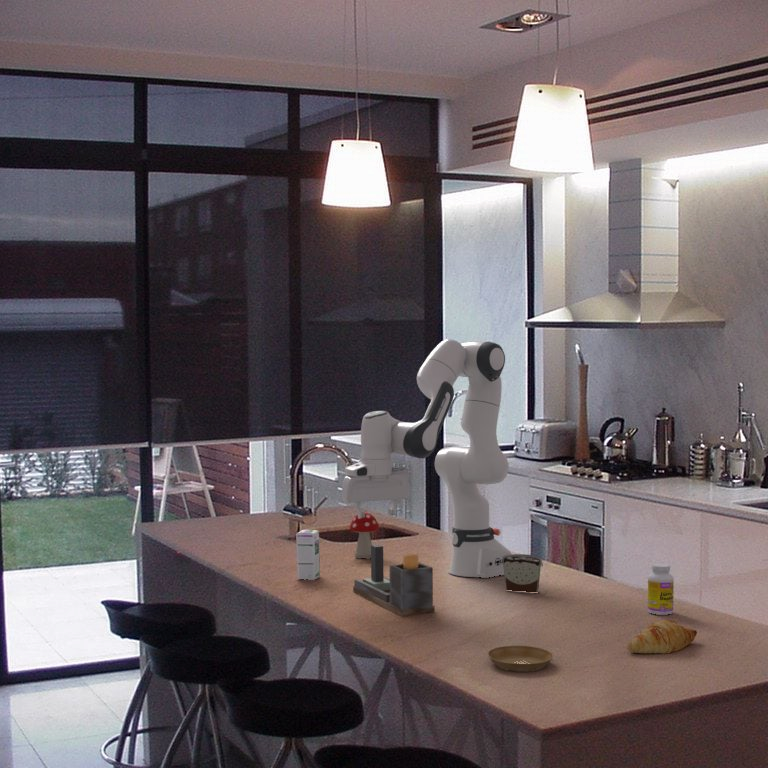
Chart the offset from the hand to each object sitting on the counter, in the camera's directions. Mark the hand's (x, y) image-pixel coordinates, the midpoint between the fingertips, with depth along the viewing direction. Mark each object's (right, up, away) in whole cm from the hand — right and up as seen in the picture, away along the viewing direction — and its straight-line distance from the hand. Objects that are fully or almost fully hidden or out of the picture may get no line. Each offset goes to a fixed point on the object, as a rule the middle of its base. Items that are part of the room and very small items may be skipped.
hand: (376, 516), depth 333 cm
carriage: (0, -21, +1) cm, 21 cm away
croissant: (+68, -25, -57) cm, 92 cm away
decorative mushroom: (-4, -20, +54) cm, 58 cm away
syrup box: (-21, -22, +23) cm, 38 cm away
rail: (+4, -23, -8) cm, 25 cm away
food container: (+43, -22, +4) cm, 48 cm away
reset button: (+9, -14, -19) cm, 26 cm away
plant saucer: (+33, -26, -70) cm, 81 cm away
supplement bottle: (+76, -23, -24) cm, 82 cm away
